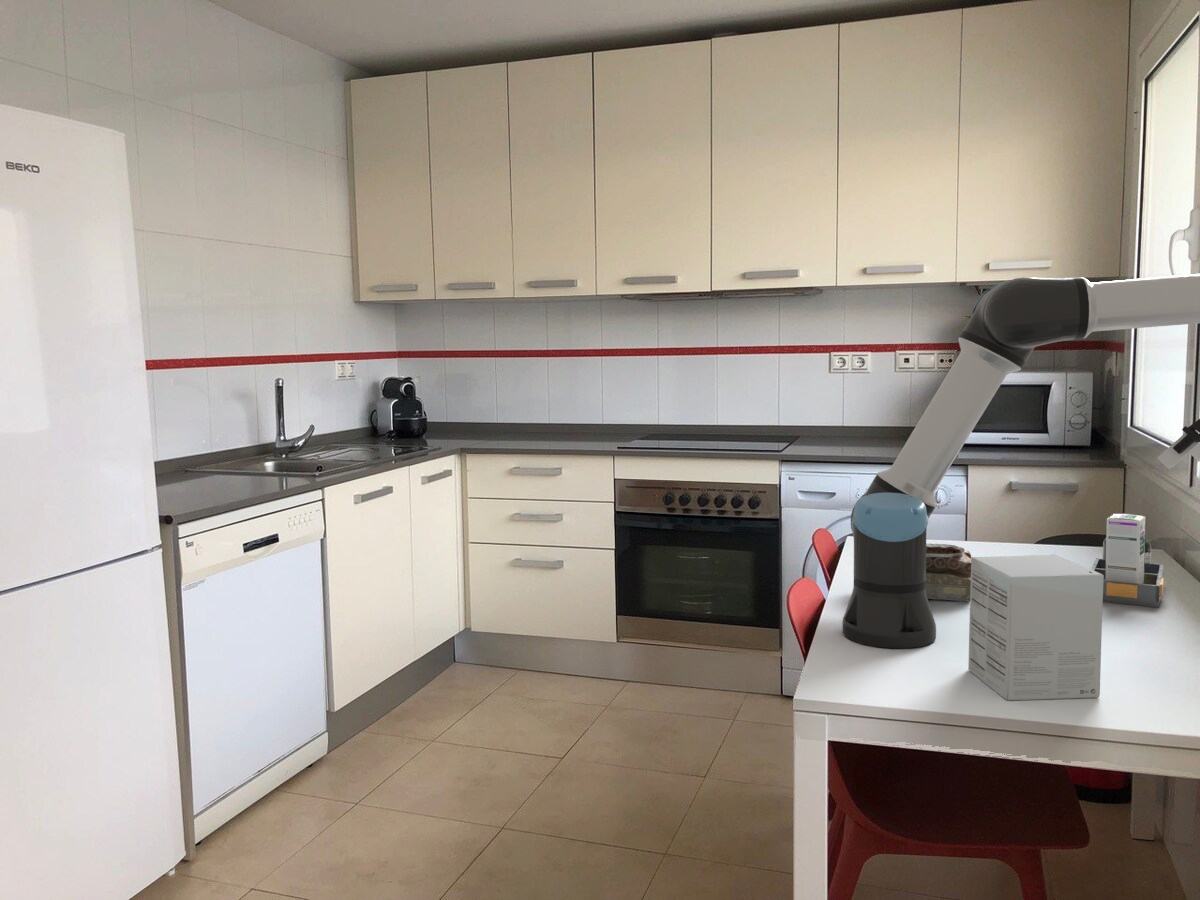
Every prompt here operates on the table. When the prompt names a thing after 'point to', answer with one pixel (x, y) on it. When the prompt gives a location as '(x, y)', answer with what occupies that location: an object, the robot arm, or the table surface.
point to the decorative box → (948, 572)
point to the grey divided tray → (1133, 586)
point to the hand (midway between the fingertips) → (1178, 459)
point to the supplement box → (1036, 627)
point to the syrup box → (1125, 548)
